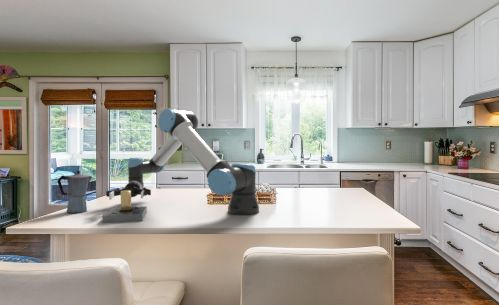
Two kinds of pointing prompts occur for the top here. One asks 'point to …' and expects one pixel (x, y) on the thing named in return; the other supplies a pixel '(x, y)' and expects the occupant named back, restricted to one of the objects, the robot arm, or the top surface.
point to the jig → (124, 215)
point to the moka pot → (76, 191)
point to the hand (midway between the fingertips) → (126, 196)
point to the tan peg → (126, 201)
